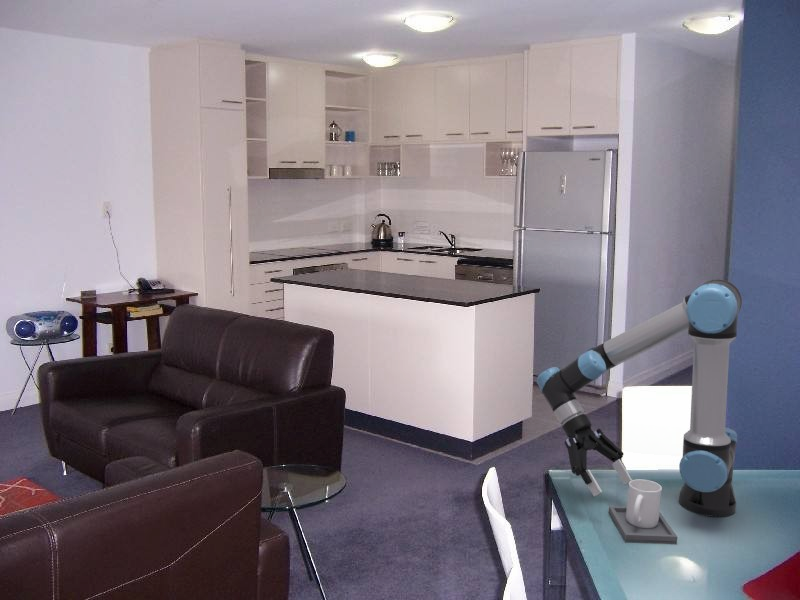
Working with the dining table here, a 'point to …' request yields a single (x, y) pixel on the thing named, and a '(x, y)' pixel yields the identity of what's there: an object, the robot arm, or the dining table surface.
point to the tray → (642, 529)
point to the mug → (643, 503)
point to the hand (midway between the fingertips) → (613, 488)
